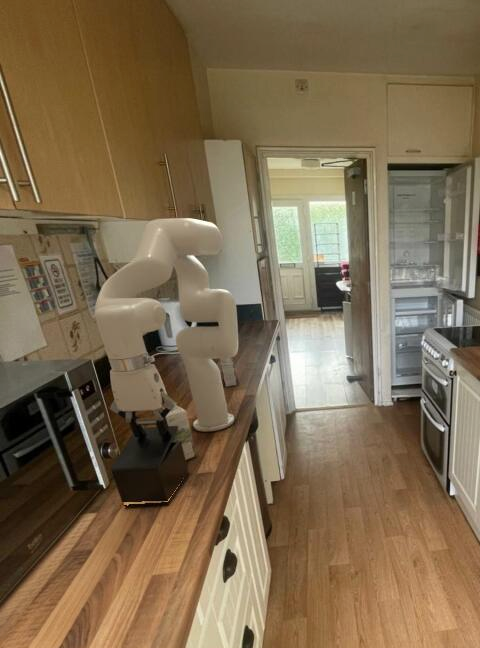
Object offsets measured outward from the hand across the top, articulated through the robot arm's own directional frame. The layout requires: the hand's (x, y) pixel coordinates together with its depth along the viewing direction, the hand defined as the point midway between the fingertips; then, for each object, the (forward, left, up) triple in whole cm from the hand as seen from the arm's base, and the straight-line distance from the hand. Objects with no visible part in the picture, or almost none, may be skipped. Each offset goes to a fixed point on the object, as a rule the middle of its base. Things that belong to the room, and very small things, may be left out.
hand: (151, 433), depth 103 cm
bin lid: (+4, 0, -2) cm, 4 cm away
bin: (+4, 0, -14) cm, 14 cm away
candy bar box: (-75, -3, -14) cm, 76 cm away
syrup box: (-12, 0, -14) cm, 18 cm away
